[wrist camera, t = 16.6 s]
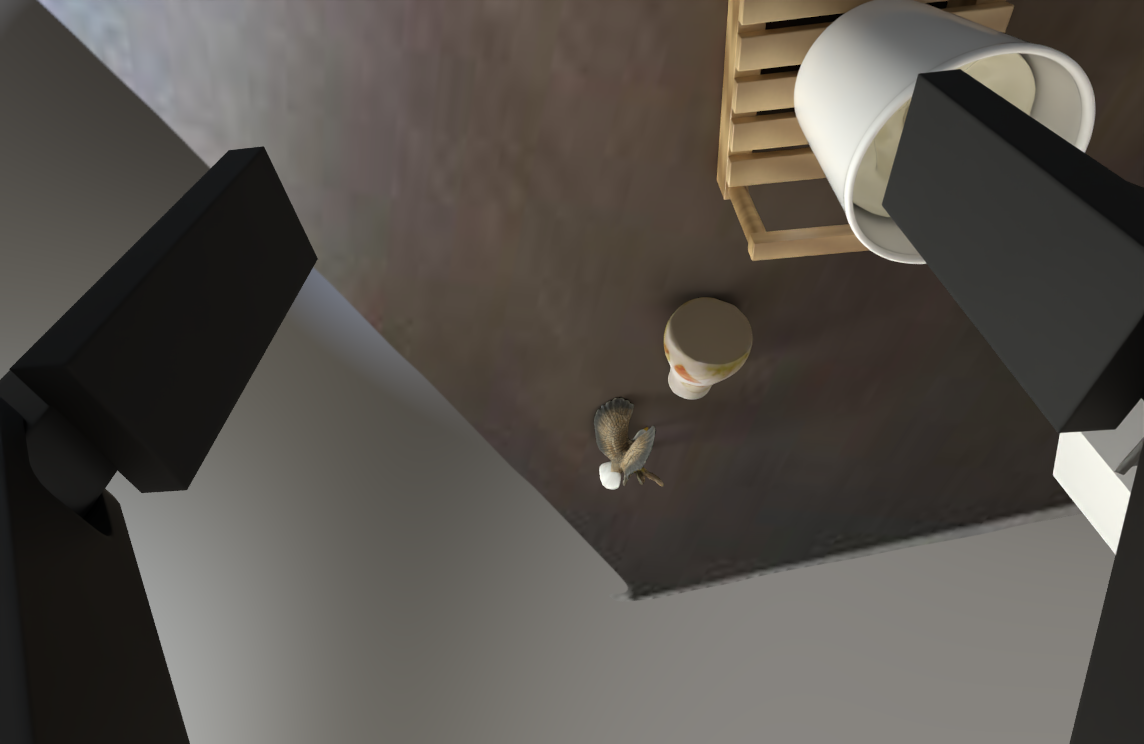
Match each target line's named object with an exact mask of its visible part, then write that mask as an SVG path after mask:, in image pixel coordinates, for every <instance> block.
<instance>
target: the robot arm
mask: <svg viewBox="0 0 1144 744" xmlns="http://www.w3.org/2000/svg"><path fill="white" fill-rule="evenodd" d="M882 206H883V208H884V209H885V210H886V212H887V213H888V214H889V215H890V217H891V218H892V219H893V221H894V222H895V223H896V224H897V226H898V227H899V228H900V230H901V231H902V232H903V233H904V235H905V236H906V237H907V239H908V240H909V241H910V242H911V244H912V245H913V246H914V248H915V249H916V250H917V252H918V253H919V254H920V255H921V257H922V258H923V259H924V261H925V262H926V263H927V264H928V266H929V267H930V268H931V270H932V271H933V272H934V273H935V275H936V276H937V277H938V279H939V280H940V281H941V282H942V284H943V285H944V286H945V288H946V289H947V290H948V291H949V293H950V294H951V295H952V297H953V298H954V299H955V301H956V302H957V303H958V304H959V306H960V307H961V308H962V310H963V311H964V312H965V313H966V315H967V316H968V317H969V319H970V320H971V321H972V322H973V324H974V325H975V326H976V328H977V329H978V330H979V331H980V333H981V334H982V335H983V337H984V338H985V339H986V340H987V342H988V343H989V344H990V346H991V347H992V348H993V350H994V351H995V352H996V353H997V355H998V356H999V357H1000V359H1001V360H1002V361H1003V362H1004V364H1005V365H1006V366H1007V368H1008V369H1009V370H1010V371H1011V373H1012V374H1013V375H1014V377H1015V378H1016V379H1017V380H1018V382H1019V383H1020V384H1021V386H1022V387H1023V388H1024V389H1025V391H1026V392H1027V393H1028V395H1029V396H1030V397H1031V399H1032V400H1033V401H1034V402H1035V404H1036V405H1037V406H1038V408H1039V409H1040V410H1041V411H1042V413H1043V414H1044V415H1045V417H1046V418H1047V419H1048V420H1049V422H1050V423H1051V424H1052V426H1053V427H1054V428H1055V429H1056V431H1057V432H1058V433H1069V432H1084V431H1099V430H1115V429H1116V428H1117V427H1118V426H1119V425H1120V424H1121V422H1122V421H1123V420H1124V419H1125V418H1126V416H1127V415H1128V414H1129V413H1130V411H1131V410H1132V409H1133V408H1134V407H1135V405H1136V404H1137V403H1138V402H1139V400H1140V399H1141V398H1142V399H1143V401H1144V188H1143V187H1140V186H1138V185H1135V184H1132V183H1130V182H1127V181H1125V180H1124V179H1122V178H1121V177H1119V176H1118V175H1116V174H1115V173H1113V172H1112V171H1111V170H1109V169H1108V168H1106V167H1105V166H1103V165H1102V164H1100V163H1099V162H1097V161H1096V160H1094V159H1093V158H1091V157H1090V156H1088V155H1087V154H1085V153H1084V152H1082V151H1081V150H1079V149H1078V148H1076V147H1075V146H1074V145H1072V144H1071V143H1069V142H1068V141H1066V140H1065V139H1063V138H1062V137H1060V136H1059V135H1057V134H1056V133H1054V132H1053V131H1051V130H1050V129H1048V128H1047V127H1045V126H1044V125H1042V124H1041V123H1039V122H1038V121H1037V120H1035V119H1034V118H1032V117H1031V116H1029V115H1028V114H1026V113H1025V112H1023V111H1022V110H1020V109H1019V108H1017V107H1016V106H1014V105H1013V104H1011V103H1010V102H1008V101H1007V100H1005V99H1004V98H1002V97H1001V96H999V95H998V94H997V93H995V92H994V91H992V90H991V89H989V88H988V87H986V86H985V85H983V84H982V83H980V82H979V81H977V80H976V79H974V78H973V77H971V76H970V75H968V74H967V73H965V72H964V71H962V70H961V69H955V70H946V71H937V72H928V73H919V74H918V77H917V80H916V84H915V87H914V91H913V95H912V98H911V102H910V105H909V109H908V112H907V116H906V120H905V123H904V127H903V130H902V134H901V137H900V141H899V144H898V148H897V152H896V155H895V159H894V162H893V166H892V169H891V173H890V177H889V180H888V184H887V187H886V191H885V194H884V198H883V202H882ZM317 259H318V258H317V256H316V254H315V252H314V250H313V248H312V246H311V244H310V242H309V240H308V237H307V235H306V233H305V231H304V229H303V227H302V225H301V223H300V221H299V219H298V217H297V215H296V212H295V210H294V208H293V206H292V204H291V202H290V200H289V198H288V196H287V194H286V192H285V190H284V187H283V185H282V183H281V181H280V179H279V177H278V175H277V173H276V171H275V169H274V167H273V165H272V162H271V160H270V158H269V156H268V154H267V152H266V150H265V148H264V146H263V147H254V148H245V149H237V150H229V151H228V152H227V153H226V154H225V155H224V156H223V157H222V158H221V159H220V160H219V161H218V162H217V163H216V164H215V165H214V166H213V167H212V168H211V169H210V170H209V171H208V172H207V173H206V174H205V175H204V176H203V177H202V178H201V179H200V180H199V181H198V182H197V183H196V184H195V185H194V186H193V187H192V188H191V189H190V190H189V191H188V192H187V193H186V194H185V195H184V196H183V197H182V198H181V199H180V200H179V201H178V202H177V203H176V204H175V205H174V206H173V207H172V208H171V209H170V210H169V211H168V212H167V213H166V214H165V215H164V216H163V217H162V218H161V219H160V220H158V222H156V224H154V225H153V226H152V227H151V228H150V229H149V230H148V232H147V233H146V234H144V236H143V237H141V238H140V239H139V240H138V242H136V243H135V244H134V245H133V246H132V247H131V248H130V250H128V252H126V253H125V254H124V255H123V256H122V258H120V259H119V260H118V261H117V263H115V265H113V266H112V267H111V268H110V269H109V270H108V271H107V272H106V273H105V274H104V275H103V277H101V278H100V279H99V280H98V281H97V282H96V283H95V284H94V285H93V286H92V287H91V288H90V289H89V290H88V291H87V292H86V293H85V294H84V295H83V296H82V297H81V298H80V299H79V300H78V301H77V302H76V303H75V304H74V305H73V306H72V307H71V308H70V309H69V310H68V311H67V312H66V313H65V314H64V315H63V316H62V317H61V318H60V319H59V320H58V321H57V322H56V323H55V324H54V325H53V326H52V327H51V328H50V329H49V330H48V331H47V332H46V333H45V334H44V335H43V336H42V337H41V338H40V339H39V340H38V341H37V342H36V343H35V344H34V345H33V346H32V347H31V348H30V349H29V350H28V351H27V352H26V353H25V354H24V355H23V356H22V357H21V358H20V359H19V360H18V361H17V362H16V363H15V364H14V365H13V366H12V367H11V368H10V371H9V372H8V373H7V374H6V375H5V376H4V377H3V378H2V379H1V380H0V744H190V743H189V739H188V736H187V732H186V729H185V725H184V722H183V719H182V715H181V712H180V708H179V705H178V702H177V698H176V695H175V691H174V688H173V684H172V681H171V677H170V674H169V671H168V667H167V664H166V661H165V657H164V654H163V650H162V647H161V643H160V640H159V636H158V633H157V630H156V626H155V623H154V619H153V616H152V613H151V609H150V606H149V602H148V599H147V595H146V592H145V589H144V585H143V582H142V578H141V575H140V572H139V568H138V564H137V561H136V558H135V555H134V551H133V548H132V544H131V541H130V538H129V534H128V530H127V527H126V523H125V520H124V517H123V513H122V510H121V507H120V503H119V502H118V501H117V500H116V498H115V497H114V496H113V495H112V494H111V493H109V492H108V491H107V490H106V489H105V488H106V486H107V485H108V483H109V482H110V480H111V479H112V477H113V476H114V475H115V473H116V472H117V470H118V471H119V472H120V473H121V474H122V475H123V476H124V477H125V478H126V479H127V480H128V481H129V482H131V483H132V484H133V485H134V486H135V487H136V488H137V489H138V490H139V491H140V492H141V493H148V492H164V491H179V490H187V489H188V487H189V485H190V484H191V482H192V480H193V478H194V477H195V475H196V473H197V471H198V469H199V468H200V466H201V464H202V462H203V461H204V459H205V457H206V455H207V454H208V452H209V450H210V448H211V446H212V445H213V443H214V441H215V439H216V438H217V436H218V434H219V432H220V431H221V429H222V427H223V425H224V424H225V422H226V420H227V418H228V417H229V415H230V413H231V411H232V409H233V408H234V406H235V404H236V402H237V401H238V399H239V397H240V395H241V393H242V392H243V390H244V388H245V386H246V385H247V383H248V381H249V379H250V378H251V376H252V374H253V372H254V371H255V369H256V367H257V365H258V363H259V362H260V360H261V358H262V356H263V355H264V353H265V351H266V349H267V348H268V346H269V344H270V342H271V341H272V338H273V337H274V335H275V333H276V332H277V330H278V328H279V326H280V325H281V323H282V321H283V319H284V318H285V316H286V314H287V312H288V310H289V309H290V307H291V305H292V303H293V302H294V300H295V298H296V296H297V295H298V293H299V291H300V289H301V287H302V286H303V284H304V282H305V280H306V279H307V277H308V275H309V273H310V272H311V270H312V268H313V266H314V265H315V263H316V261H317ZM1133 466H1137V470H1136V474H1135V478H1134V482H1133V486H1132V490H1131V494H1130V498H1129V502H1128V506H1127V511H1126V515H1125V519H1124V523H1123V527H1122V531H1121V535H1120V539H1119V543H1118V547H1117V551H1116V556H1115V560H1114V564H1113V568H1112V572H1111V576H1110V580H1109V584H1108V588H1107V592H1106V597H1105V601H1104V605H1103V609H1102V613H1101V617H1100V621H1099V626H1098V629H1097V633H1096V638H1095V642H1094V646H1093V650H1092V655H1091V658H1090V662H1089V666H1088V670H1087V674H1086V679H1085V683H1084V687H1083V691H1082V695H1081V699H1080V703H1079V708H1078V711H1077V715H1076V719H1075V724H1074V728H1073V732H1072V736H1071V740H1070V744H1144V437H1143V438H1142V439H1141V441H1140V442H1139V443H1138V444H1137V445H1136V446H1135V447H1134V449H1133V450H1132V451H1131V452H1130V453H1129V454H1128V455H1127V456H1126V458H1125V459H1124V460H1123V461H1122V462H1121V463H1120V465H1119V466H1118V467H1117V469H1116V470H1115V471H1114V472H1117V473H1119V474H1122V475H1125V474H1126V473H1127V472H1128V470H1129V469H1130V468H1131V467H1133Z"/></svg>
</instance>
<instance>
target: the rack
mask: <svg viewBox="0 0 1144 744" xmlns="http://www.w3.org/2000/svg"><path fill="white" fill-rule="evenodd" d="M869 1H872V0H729V2H728V17H727V32H726V47H725V63H724V78H723V93H722V108H721V123H720V138H719V153H718V169H717V182H718V184H719V187H720V189H721V192H722V195H723V197H724V199H731V201H732V204H733V206H734V209H735V211H736V214H737V216H738V219H739V221H740V224H741V226H742V229H743V231H744V234H745V236H746V239H747V241H748V244H749V246H748V251H749V254H750V256H751V259H752V261H755V260H766V259H778V258H789V257H800V256H811V255H822V254H833V253H844V252H856V251H867V250H869V249H868V248H867V247H865V246H864V245H863V244H862V243H861V242H860V241H859V239H858V238H857V237H856V236H855V234H854V233H853V231H852V229H851V227H850V225H849V224H846V225H835V226H824V227H814V228H803V229H792V230H782V231H771V232H766V230H765V228H764V225H763V223H762V221H761V219H760V217H759V214H758V212H757V210H756V208H755V206H754V203H753V201H752V199H751V197H750V195H749V192H748V187H749V185H757V184H767V183H777V182H787V181H797V180H807V179H817V178H826V176H825V174H824V172H823V170H822V169H821V167H820V165H819V163H818V161H817V159H816V157H815V155H814V153H813V152H812V150H811V148H810V147H807V148H798V149H788V150H778V151H769V152H759V153H752V150H758V149H767V148H777V147H787V146H796V145H806V144H808V142H807V140H806V138H805V136H804V134H803V132H802V130H801V128H800V125H799V123H798V120H797V117H796V113H795V112H786V113H776V114H767V115H758V116H756V112H757V111H765V110H774V109H783V108H793V107H794V88H795V83H796V78H797V75H798V72H799V70H798V71H789V72H780V73H771V74H762V75H761V69H764V68H773V67H782V66H791V65H799V64H802V62H803V60H804V58H805V56H806V54H807V52H808V51H809V49H810V48H811V46H812V45H813V43H814V42H815V41H816V39H817V38H818V37H819V36H820V35H821V33H822V32H823V31H824V30H825V29H826V28H827V27H828V26H829V25H830V24H832V23H833V22H826V23H818V24H810V25H801V26H793V27H784V28H776V29H768V30H765V28H766V22H773V21H781V20H790V19H798V18H806V17H815V16H823V15H831V14H840V13H846V12H848V11H849V10H851V9H853V8H855V7H857V6H859V5H861V4H864V3H866V2H869ZM916 1H920V2H923V3H931V2H940V1H948V4H947V7H946V8H944V9H942V10H945V11H948V12H950V13H953V14H956V15H958V16H961V17H964V18H966V19H969V20H972V21H974V22H977V23H980V24H982V25H985V26H988V27H990V28H993V29H996V30H998V31H1001V32H1004V33H1005V31H1006V28H1007V25H1008V23H1009V20H1010V17H1011V14H1012V11H1013V9H1014V5H1012V4H1010V3H1008V2H1005V0H916Z"/></svg>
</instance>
